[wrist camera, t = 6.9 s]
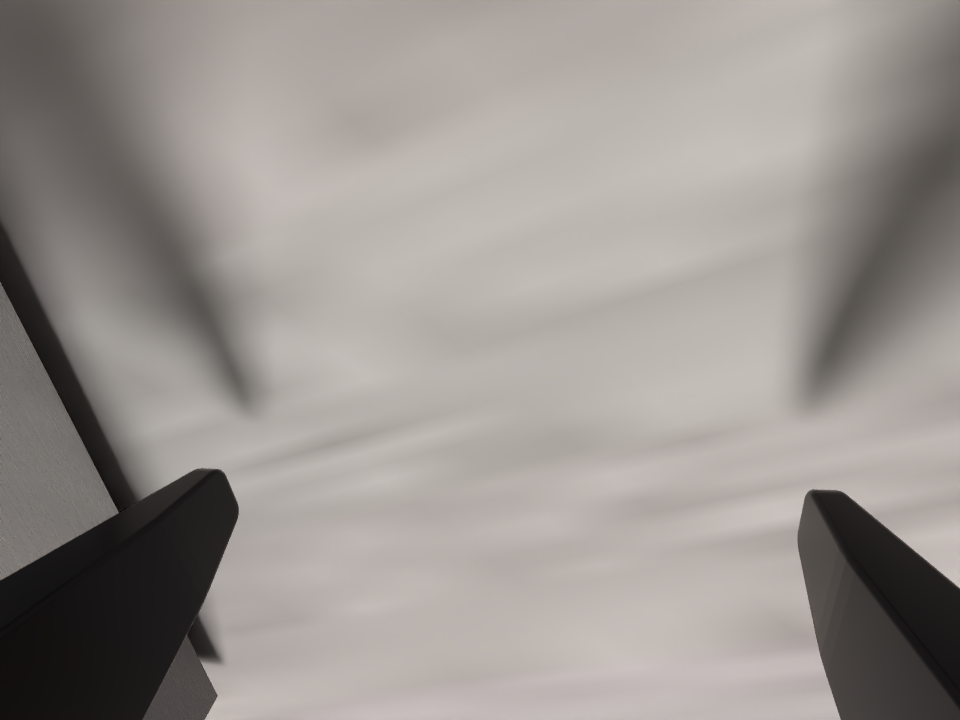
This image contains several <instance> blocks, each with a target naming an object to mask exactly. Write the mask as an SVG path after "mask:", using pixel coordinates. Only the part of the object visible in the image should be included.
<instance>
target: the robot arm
mask: <svg viewBox="0 0 960 720" xmlns="http://www.w3.org/2000/svg"><path fill="white" fill-rule="evenodd" d="M238 514H239V508H238V503H237V501H236V498H235V496H234V494H233V491H232V489H231V486H230V484H229V482H228V479H227V477H226V475H225V473H224V472H222V471H221V470H219V469H205V468H201V469H196V470H193V471H192V472H190V473H188V474H186V475H185V476H183V477H181V478H179V479H178V480H176V481H174V482H172V483H171V484H169V485H167V486H165V487H163V488H162V489H160V490H158V491H156V492H155V493H153V494H151V495H149V496H148V497H146V498H144V499H142V500H141V501H139V502H137V503H135V504H134V505H132V506H130V507H128V508H127V509H125V510H123V511H121V512H120V513H118V514H116V515H114V516H112V517H111V518H109V519H107V520H105V521H104V522H102V523H100V524H98V525H97V526H95V527H93V528H91V529H90V530H88V531H86V532H84V533H83V534H81V535H79V536H77V537H76V538H74V539H72V540H70V541H69V542H67V543H65V544H63V545H61V546H60V547H58V548H56V549H54V550H53V551H51V552H49V553H47V554H46V555H44V556H42V557H40V558H39V559H37V560H35V561H33V562H32V563H30V564H28V565H26V566H25V567H23V568H21V569H19V570H18V571H16V572H14V573H12V574H10V575H9V576H7V577H5V578H3V579H2V580H0V720H143V719H144V717H145V715H146V713H147V711H148V709H149V707H150V705H151V704H152V702H153V700H154V698H155V696H156V694H157V692H158V690H159V688H160V686H161V684H162V682H163V680H164V678H165V677H166V675H167V673H168V671H169V669H170V667H171V665H172V663H173V661H174V659H175V657H176V655H177V653H178V652H179V650H180V648H181V646H182V644H183V642H184V640H185V638H186V636H187V634H188V632H189V630H190V628H191V626H192V625H193V623H194V621H195V619H196V617H197V615H198V613H199V611H200V609H201V607H202V605H203V603H204V600H205V598H206V596H207V593H208V591H209V589H210V586H211V584H212V581H213V579H214V576H215V574H216V571H217V569H218V566H219V564H220V561H221V559H222V557H223V554H224V552H225V549H226V547H227V544H228V542H229V539H230V537H231V534H232V532H233V529H234V527H235V524H236V522H237V519H238ZM798 549H799V555H800V560H801V564H802V569H803V574H804V579H805V584H806V589H807V594H808V599H809V604H810V609H811V613H812V618H813V623H814V628H815V633H816V638H817V642H818V647H819V651H820V656H821V659H822V662H823V666H824V669H825V673H826V676H827V679H828V682H829V685H830V688H831V691H832V694H833V697H834V700H835V703H836V706H837V709H838V712H839V715H840V718H841V720H960V588H959V587H958V586H956V585H955V584H954V583H953V582H952V581H950V580H949V579H948V578H947V577H945V576H944V575H943V574H942V573H941V572H939V571H938V570H937V569H936V568H935V567H933V566H932V565H931V564H930V563H929V562H927V561H926V560H925V559H924V558H923V557H921V556H920V555H919V554H918V553H917V552H915V551H914V550H913V549H912V548H910V547H909V546H908V545H907V544H906V543H904V542H903V541H902V540H901V539H900V538H898V537H897V536H896V535H895V534H894V533H892V532H891V531H890V530H889V529H888V528H886V527H885V526H884V525H883V524H881V523H880V522H879V521H878V520H877V519H875V518H874V517H873V516H872V515H871V514H869V513H868V512H867V511H866V510H865V509H863V508H862V507H861V506H860V505H859V504H857V503H856V502H855V501H854V500H852V499H851V498H850V497H849V496H848V495H846V494H845V493H843V492H841V491H837V490H810V491H809V492H808V493H807V494H806V496H805V500H804V505H803V510H802V514H801V519H800V524H799V529H798Z"/></svg>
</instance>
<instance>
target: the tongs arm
mask: <svg viewBox="0 0 960 720" xmlns="http://www.w3.org/2000/svg"><path fill="white" fill-rule="evenodd" d="M118 513H119V512H118V510H117V508H116V506H115V504H114V503H113V501H112V499H111V497H110V495H109V493H108V491H107V489H106V487H105V485H104V483H103V481H102V479H101V477H100V475H99V473H98V471H97V469H96V467H95V465H94V464H93V462H92V460H91V458H90V456H89V454H88V452H87V450H86V448H85V446H84V444H83V442H82V440H81V438H80V436H79V434H78V432H77V430H76V428H75V427H74V425H73V423H72V421H71V419H70V417H69V415H68V413H67V411H66V409H65V407H64V405H63V403H62V401H61V399H60V397H59V395H58V393H57V391H56V390H55V388H54V386H53V384H52V382H51V380H50V378H49V376H48V374H47V372H46V370H45V368H44V366H43V364H42V362H41V360H40V358H39V356H38V354H37V352H36V351H35V349H34V347H33V345H32V343H31V341H30V339H29V337H28V335H27V333H26V331H25V329H24V327H23V325H22V323H21V321H20V319H19V317H18V315H17V314H16V312H15V310H14V308H13V306H12V304H11V302H10V300H9V298H8V296H7V294H6V292H5V290H4V288H3V286H2V284H1V282H0V580H2V579H3V578H5V577H7V576H9V575H10V574H12V573H14V572H16V571H18V570H19V569H21V568H23V567H25V566H26V565H28V564H30V563H32V562H33V561H35V560H37V559H39V558H40V557H42V556H44V555H46V554H47V553H49V552H51V551H53V550H54V549H56V548H58V547H60V546H61V545H63V544H65V543H67V542H69V541H70V540H72V539H74V538H76V537H77V536H79V535H81V534H83V533H84V532H86V531H88V530H90V529H91V528H93V527H95V526H97V525H98V524H100V523H102V522H104V521H105V520H107V519H109V518H111V517H112V516H114V515H116V514H118ZM216 698H217V694H216V692H215V690H214V688H213V686H212V684H211V682H210V680H209V678H208V676H207V674H206V672H205V670H204V668H203V666H202V664H201V662H200V660H199V658H198V656H197V654H196V652H195V650H194V648H193V646H192V644H191V642H190V640H189V638H188V636H186V638H185V640H184V642H183V644H182V646H181V648H180V650H179V652H178V653H177V655H176V657H175V659H174V661H173V663H172V665H171V667H170V669H169V671H168V673H167V675H166V677H165V678H164V680H163V682H162V684H161V686H160V688H159V690H158V692H157V694H156V696H155V698H154V700H153V702H152V704H151V705H150V707H149V709H148V711H147V713H146V715H145V717H144V719H143V720H205V718H206V716H207V714H208V713H209V711H210V709H211V707H212V705H213V704H214V702H215V700H216Z"/></svg>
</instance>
